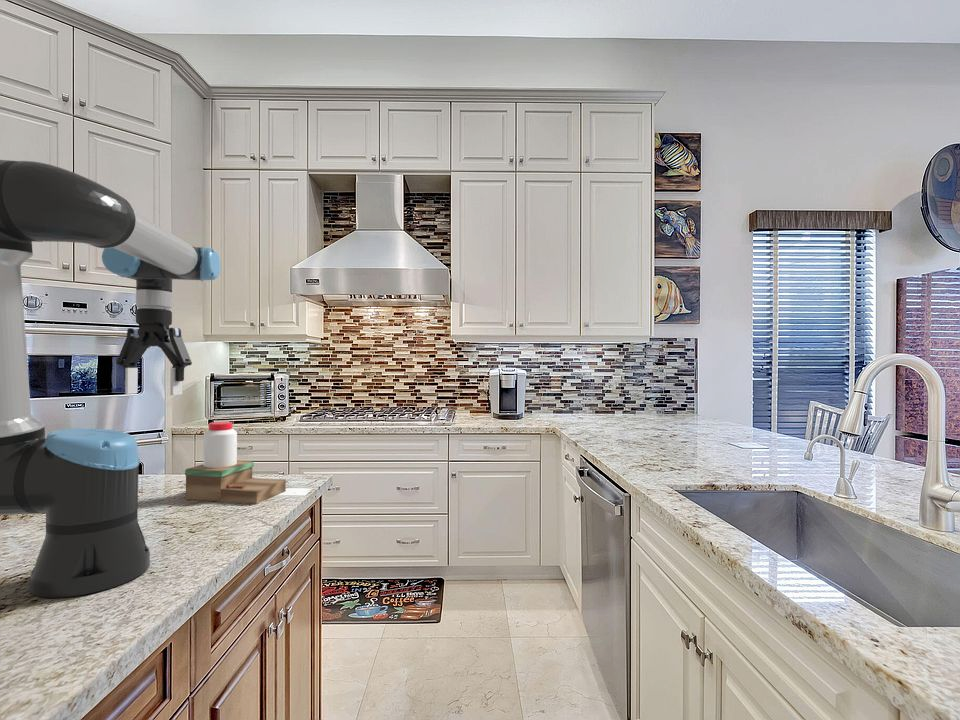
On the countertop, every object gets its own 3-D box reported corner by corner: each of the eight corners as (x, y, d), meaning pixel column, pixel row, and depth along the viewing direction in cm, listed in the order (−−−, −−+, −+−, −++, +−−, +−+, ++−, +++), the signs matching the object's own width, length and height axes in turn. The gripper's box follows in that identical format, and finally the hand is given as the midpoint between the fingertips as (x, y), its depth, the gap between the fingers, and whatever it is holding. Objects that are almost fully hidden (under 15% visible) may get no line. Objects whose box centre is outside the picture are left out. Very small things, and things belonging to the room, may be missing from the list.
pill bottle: (242, 462, 131) (243, 421, 131) (225, 468, 124) (225, 425, 124) (215, 461, 132) (216, 420, 132) (196, 467, 124) (196, 424, 124)
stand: (255, 504, 119) (256, 473, 119) (184, 499, 123) (185, 469, 123) (285, 491, 131) (285, 462, 131) (220, 486, 135) (220, 459, 135)
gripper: (208, 309, 123) (207, 394, 123) (127, 311, 128) (127, 392, 128) (183, 306, 115) (183, 396, 115) (99, 308, 121) (98, 394, 121)
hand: (153, 394), depth 122 cm, fingers open, 13 cm apart
